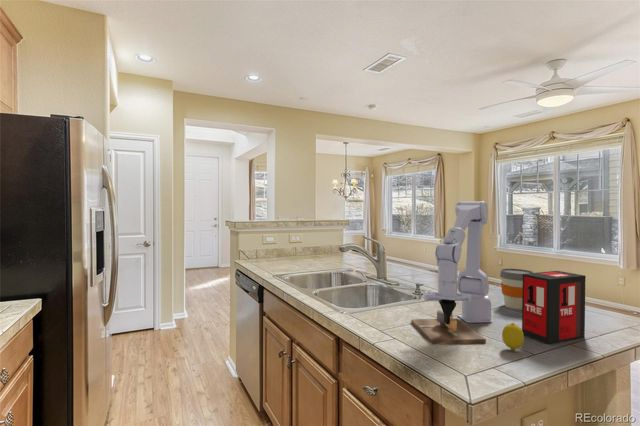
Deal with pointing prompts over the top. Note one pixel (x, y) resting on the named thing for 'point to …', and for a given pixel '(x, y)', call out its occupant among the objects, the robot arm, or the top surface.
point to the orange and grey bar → (453, 322)
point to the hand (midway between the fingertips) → (447, 323)
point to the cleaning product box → (553, 306)
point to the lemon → (513, 336)
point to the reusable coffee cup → (512, 287)
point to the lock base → (446, 332)
